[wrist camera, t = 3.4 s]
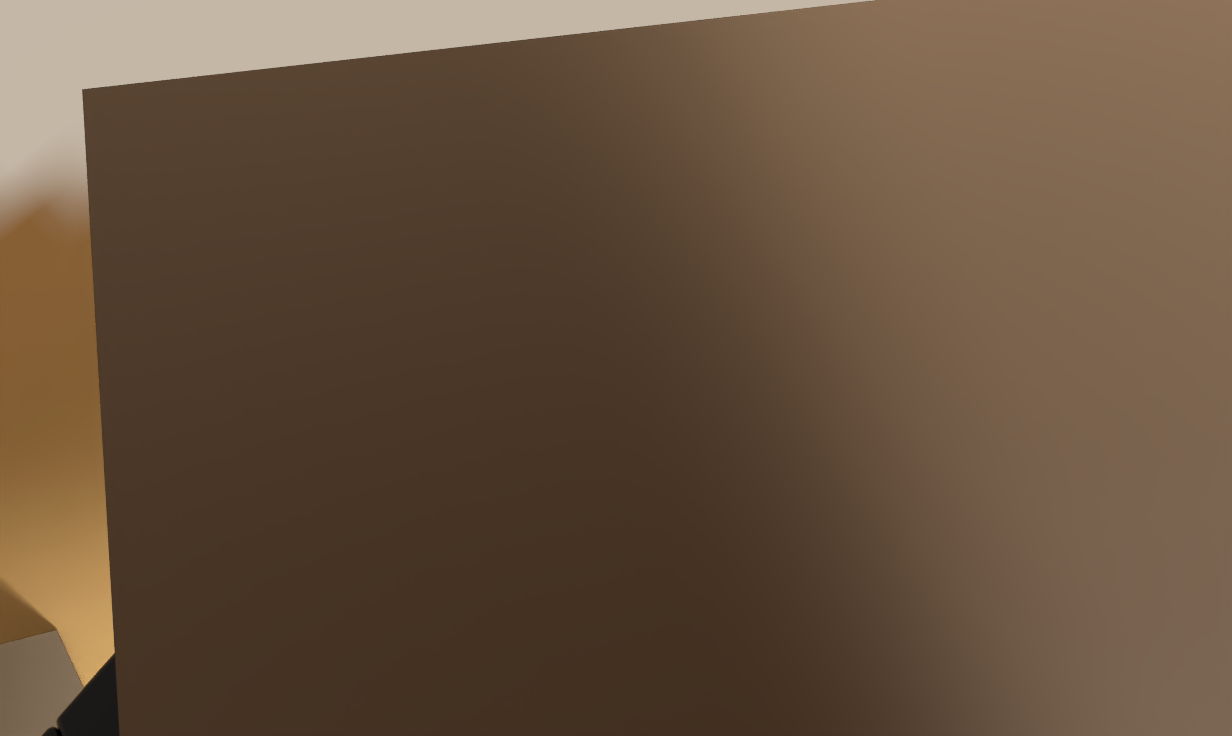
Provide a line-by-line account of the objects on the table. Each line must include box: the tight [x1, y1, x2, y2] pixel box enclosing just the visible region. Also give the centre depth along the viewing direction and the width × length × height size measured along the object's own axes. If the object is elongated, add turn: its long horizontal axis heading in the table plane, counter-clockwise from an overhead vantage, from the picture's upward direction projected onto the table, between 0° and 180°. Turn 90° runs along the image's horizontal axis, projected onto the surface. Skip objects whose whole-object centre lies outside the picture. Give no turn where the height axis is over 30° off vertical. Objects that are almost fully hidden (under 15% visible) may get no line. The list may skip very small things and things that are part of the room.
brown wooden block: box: [82, 0, 1232, 736], centre depth 10 cm, size 4×4×14 cm
